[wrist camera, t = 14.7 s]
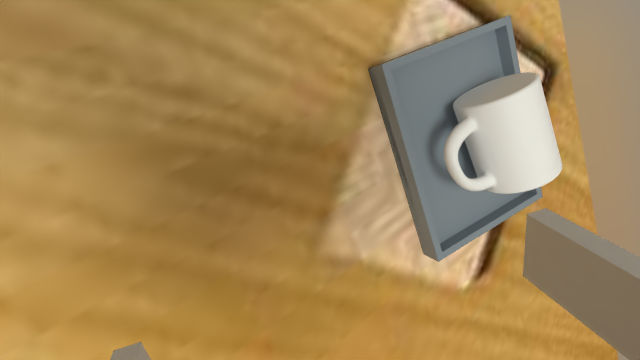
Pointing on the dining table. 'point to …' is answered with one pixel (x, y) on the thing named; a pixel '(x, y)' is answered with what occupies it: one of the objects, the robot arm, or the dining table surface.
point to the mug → (504, 136)
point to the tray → (445, 133)
